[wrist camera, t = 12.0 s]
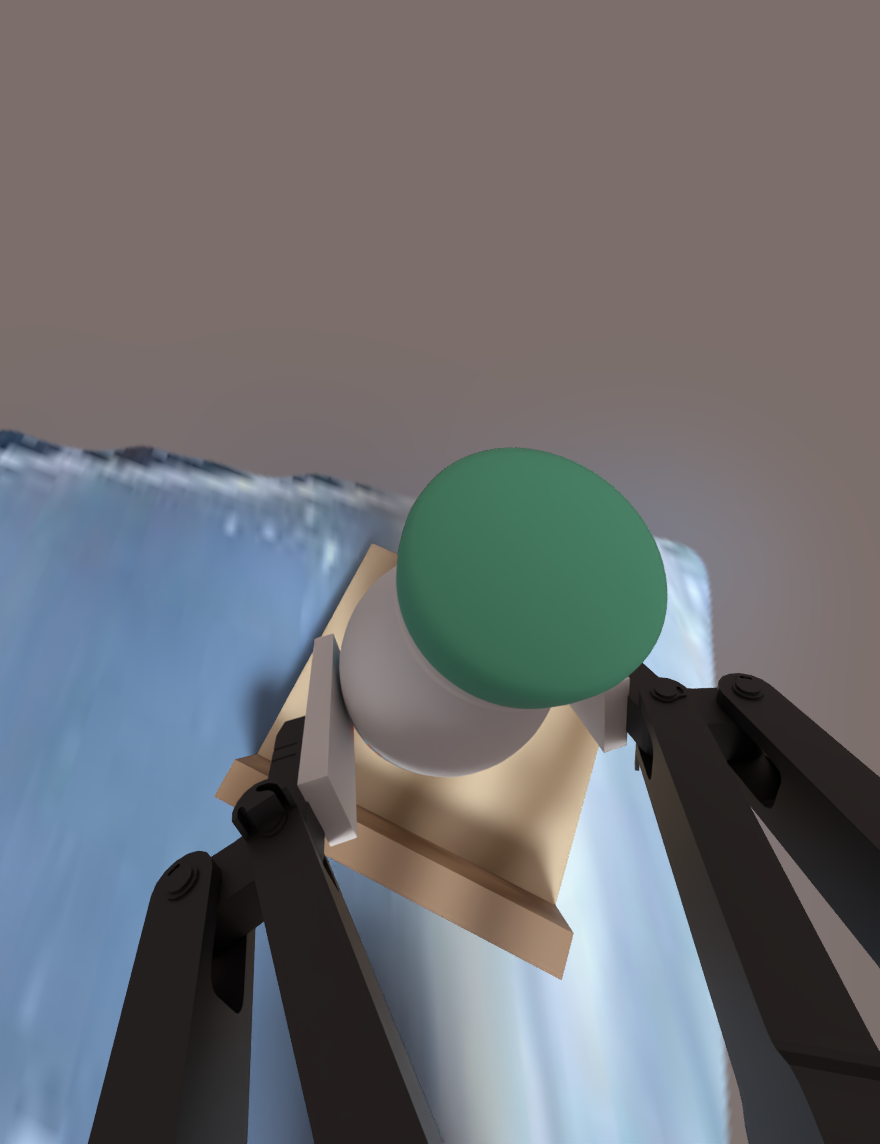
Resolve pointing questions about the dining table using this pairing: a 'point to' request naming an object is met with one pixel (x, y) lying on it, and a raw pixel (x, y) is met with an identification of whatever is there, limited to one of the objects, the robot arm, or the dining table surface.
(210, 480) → the dining table surface
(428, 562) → the milk bottle
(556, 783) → the light wooden flat tray
